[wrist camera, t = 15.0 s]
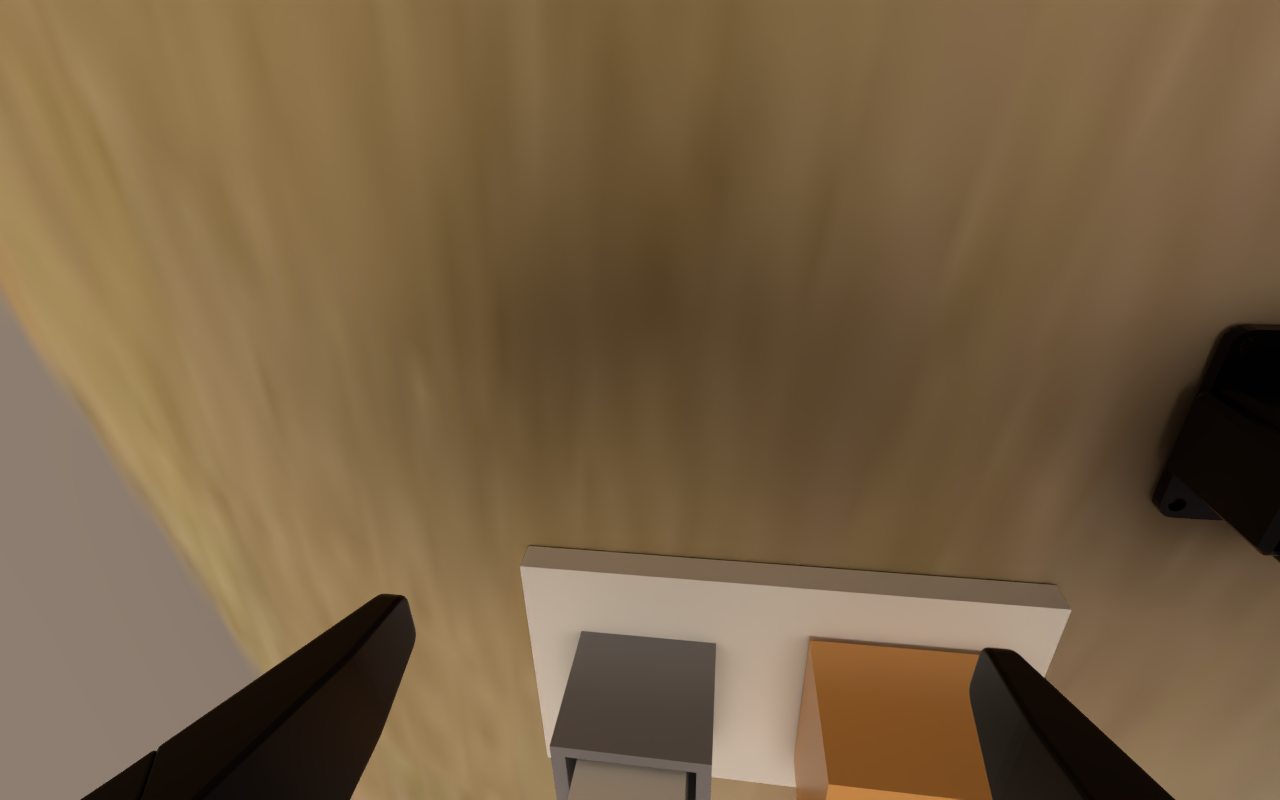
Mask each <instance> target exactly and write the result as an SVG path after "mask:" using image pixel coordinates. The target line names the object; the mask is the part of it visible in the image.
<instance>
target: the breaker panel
mask: <svg viewBox="0 0 1280 800" xmlns="http://www.w3.org/2000/svg"><path fill="white" fill-rule="evenodd" d="M520 571H521V577H522V584H523V591H524V598H525V605H526V611H527V618H528V625H529V632H530V639H531V645H532V652H533V659H534V666H535V673H536V679H537V686H538V693H539V700H540V707H541V713H542V720H543V727H544V734H545V741H546V747H547V754H548V757H549V758H551V760H552V767H553V774H554V781H555V788H556V795H557V800H568V795H569V791H570V787H571V782H572V778H573V774H574V770H575V765H576V761H577V759H585V760H594V761H602V762H611V763H619V764H627V765H636V766H644V767H652V768H661V769H669V770H677V771H686V772H689V784H688V800H710V797H711V777H716V778H724V779H733V780H741V781H749V782H758V783H766V784H774V785H783V786H791V787H796V781H795V770H794V753H795V745H796V738H797V730H798V723H799V715H800V708H801V701H802V693H803V686H804V678H805V671H806V663H807V656H808V648H809V641H810V640H813V641H825V642H836V643H848V644H860V645H872V646H883V647H895V648H907V649H918V650H930V651H942V652H954V653H965V654H977V655H979V654H980V652H981V651H982V650H983V649H984V648H987V647H991V648H1002V649H1010V650H1013V651H1015V652H1017V653H1018V654H1019V655H1021V656H1022V657H1023V658H1024V659H1025V660H1026V661H1027V662H1028V663H1029V664H1030V665H1031V666H1032V667H1033V668H1034V669H1036V670H1037V671H1038V672H1039V673H1040V674H1041V675H1042V676H1043V677H1045V675H1046V672H1047V670H1048V667H1049V665H1050V662H1051V660H1052V657H1053V655H1054V652H1055V650H1056V647H1057V645H1058V643H1059V640H1060V638H1061V635H1062V633H1063V630H1064V628H1065V625H1066V623H1067V620H1068V618H1069V615H1070V613H1071V608H1070V606H1069V605H1068V603H1067V602H1066V600H1065V598H1064V597H1063V595H1062V594H1061V592H1060V591H1059V589H1058V587H1057V586H1056V585H1048V584H1034V583H1021V582H1008V581H994V580H981V579H967V578H954V577H940V576H927V575H913V574H900V573H886V572H873V571H860V570H846V569H833V568H819V567H806V566H792V565H779V564H765V563H752V562H739V561H725V560H712V559H698V558H685V557H671V556H658V555H644V554H631V553H618V552H604V551H591V550H577V549H564V548H550V547H537V546H529V547H528V549H527V551H526V553H525V556H524V558H523V560H522V563H521V565H520Z"/></svg>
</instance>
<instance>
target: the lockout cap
mask: <svg viewBox="0 0 1280 800" xmlns="http://www.w3.org/2000/svg"><path fill="white" fill-rule="evenodd" d="M978 657H979V655H977V654H965V653H954V652H942V651H930V650H918V649H907V648H895V647H883V646H872V645H860V644H848V643H836V642H825V641H813V640H810V641H809V648H808V656H807V663H806V671H805V678H804V686H803V693H802V701H801V708H800V715H799V723H798V730H797V738H796V745H795V753H794V770H795V781H796V793H797V800H992V796H991V792H990V787H989V783H988V778H987V774H986V769H985V765H984V761H983V756H982V752H981V747H980V743H979V738H978V734H977V729H976V725H975V721H974V716H973V712H972V707H971V703H970V696H969V687H970V682H971V679H972V676H973V673H974V670H975V666H976V663H977V660H978Z"/></svg>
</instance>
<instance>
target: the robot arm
mask: <svg viewBox="0 0 1280 800" xmlns="http://www.w3.org/2000/svg"><path fill="white" fill-rule="evenodd" d="M1250 338H1251V340H1250V342H1249V344H1248V345H1247V346H1245V347H1244V348H1242V349H1240V346H1241V344H1242V343H1243V342H1244V341H1246V340H1247V339H1250ZM1174 499H1177V500H1176V501H1175V502H1173V503H1170V502H1171V501H1172V500H1174ZM1152 502H1153V505H1154V506H1155V507H1156V508H1157V509H1158V510H1159V511H1160V512H1161V513H1162V514H1163V515H1165V516H1168V517H1174V518H1191V519H1207V520H1224V521H1225V522H1226V523H1227V524H1228V525H1229V526H1230V527H1232V528H1233V529H1234V530H1235V531H1236V532H1237V533H1238V534H1239V535H1240V536H1242V537H1243V538H1244V539H1245V540H1246V541H1247V542H1248V543H1249V544H1250V545H1252V546H1253V547H1254V548H1255V549H1256V550H1257V551H1258V552H1259V553H1261V554H1263V555H1270V556H1273V557H1274V558H1275V559H1276V560H1277V561H1278V562H1279V563H1280V325H1241V326H1238V327H1235V328H1233V329H1231V330H1230V331H1229V332H1227V333H1226V334H1225V335H1224V337H1223V338H1222V340H1221V341H1220V344H1219V346H1218V348H1217V350H1216V353H1215V355H1214V357H1213V360H1212V362H1211V364H1210V367H1209V369H1208V371H1207V373H1206V376H1205V378H1204V380H1203V383H1202V385H1201V387H1200V390H1199V392H1198V394H1197V396H1196V399H1195V400H1194V402H1193V404H1192V406H1191V409H1190V411H1189V413H1188V416H1187V418H1186V420H1185V422H1184V425H1183V427H1182V429H1181V432H1180V434H1179V436H1178V439H1177V441H1176V443H1175V445H1174V448H1173V450H1172V452H1171V455H1170V457H1169V459H1168V462H1167V464H1166V468H1165V470H1164V472H1163V475H1162V477H1161V479H1160V481H1159V484H1158V486H1157V488H1156V491H1155V493H1154V495H1153V499H1152ZM1169 503H1170V504H1169ZM415 637H416V631H415V626H414V622H413V619H412V615H411V611H410V607H409V603H408V600H407V599H406V598H405V597H404V596H402V595H394V594H380V595H378V596H376V597H375V598H373V599H372V600H370V601H369V602H367V603H366V604H364V605H363V606H362V607H360V608H359V609H357V610H356V611H354V612H353V613H351V614H350V615H349V616H347V617H346V618H344V619H343V620H341V621H340V622H338V623H337V624H336V625H334V626H333V627H331V628H330V629H328V630H327V631H325V632H324V633H323V634H321V635H320V636H318V637H317V638H315V639H314V640H312V641H311V642H310V643H308V644H307V645H305V646H304V647H302V648H301V649H299V650H298V651H296V652H295V653H294V654H292V655H291V656H289V657H288V658H286V659H285V660H283V661H282V662H281V663H279V664H278V665H276V666H275V667H273V668H272V669H270V670H269V671H268V672H266V673H265V674H263V675H262V676H260V677H259V678H257V679H256V680H255V681H253V682H252V683H250V684H249V685H247V686H246V687H245V688H243V689H242V690H240V691H239V692H238V693H236V694H234V695H233V696H231V697H230V698H229V699H227V700H226V701H224V702H223V703H221V704H220V705H218V706H217V707H216V708H214V709H213V710H211V711H210V712H208V713H207V714H205V715H204V716H203V717H201V718H200V719H198V720H197V721H195V722H194V723H192V724H191V725H189V726H188V727H187V728H185V729H184V730H182V731H181V732H180V733H178V734H177V735H175V736H174V737H172V738H171V739H169V740H168V741H167V742H165V743H163V744H162V745H161V746H160V747H159V748H158V750H157V751H152V752H150V753H149V754H147V755H146V756H144V757H143V758H141V759H140V760H139V761H137V762H136V763H134V764H133V765H131V766H130V767H129V768H127V769H126V770H124V771H123V772H121V773H120V774H118V775H117V776H115V777H114V778H112V779H111V780H109V781H108V782H106V783H105V784H103V785H102V786H100V787H99V788H97V789H96V790H94V791H93V792H91V793H90V794H88V795H87V796H85V797H84V798H82V799H81V800H350V799H351V796H352V794H353V792H354V790H355V788H356V786H357V784H358V782H359V780H360V778H361V776H362V774H363V772H364V770H365V767H366V765H367V763H368V761H369V759H370V757H371V755H372V753H373V751H374V749H375V746H376V744H377V742H378V740H379V738H380V735H381V733H382V730H383V728H384V725H385V723H386V720H387V718H388V715H389V712H390V709H391V707H392V704H393V701H394V698H395V696H396V693H397V690H398V687H399V685H400V682H401V679H402V677H403V674H404V671H405V668H406V666H407V663H408V660H409V657H410V655H411V652H412V649H413V646H414V643H415ZM969 696H970V703H971V707H972V712H973V716H974V721H975V725H976V729H977V734H978V738H979V743H980V747H981V752H982V756H983V761H984V765H985V769H986V774H987V778H988V783H989V787H990V792H991V796H992V800H1175V799H1174V798H1173V797H1172V796H1171V795H1170V794H1168V793H1167V792H1166V791H1165V790H1164V789H1163V788H1162V787H1161V786H1160V785H1159V784H1158V783H1157V782H1156V781H1155V780H1153V779H1152V778H1151V777H1150V776H1149V775H1148V774H1147V773H1146V772H1145V771H1144V770H1143V769H1142V768H1141V767H1140V766H1138V765H1137V764H1136V763H1135V762H1134V761H1133V760H1132V759H1131V758H1130V757H1129V756H1128V755H1127V754H1126V753H1125V752H1123V751H1122V750H1121V749H1120V748H1119V747H1118V746H1117V745H1116V744H1115V743H1114V742H1113V741H1112V740H1111V739H1110V738H1108V737H1107V736H1106V735H1105V734H1104V733H1103V732H1102V731H1101V730H1100V729H1099V728H1098V727H1097V726H1096V725H1095V724H1093V723H1092V722H1091V721H1090V720H1089V719H1088V718H1087V717H1086V716H1085V715H1084V714H1083V713H1082V712H1081V711H1080V710H1078V709H1077V708H1076V707H1075V706H1074V705H1073V704H1072V703H1071V702H1070V701H1069V700H1068V699H1067V698H1066V697H1064V696H1063V695H1062V694H1061V693H1060V692H1059V691H1058V690H1057V689H1056V688H1055V687H1054V686H1053V685H1052V684H1051V683H1049V682H1048V681H1047V680H1046V679H1045V678H1044V677H1043V676H1042V675H1041V674H1040V673H1039V672H1038V671H1037V670H1036V669H1034V668H1033V667H1032V666H1031V665H1030V664H1029V663H1028V662H1027V661H1026V660H1025V659H1024V658H1023V657H1022V656H1021V655H1019V654H1018V653H1017V652H1015V651H1013V650H1010V649H1002V648H991V647H987V648H984V649H983V650H982V651H981V652H980V654H979V657H978V660H977V663H976V666H975V670H974V673H973V676H972V679H971V682H970V687H969Z"/></svg>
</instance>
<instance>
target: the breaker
mask: <svg viewBox="0 0 1280 800" xmlns="http://www.w3.org/2000/svg"><path fill="white" fill-rule="evenodd" d="M688 784H689V772H686V771H677V770H669V769H661V768H652V767H644V766H636V765H627V764H619V763H611V762H602V761H594V760H585V759H577V761H576V765H575V770H574V774H573V778H572V782H571V787H570V791H569V795H568V800H688Z"/></svg>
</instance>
